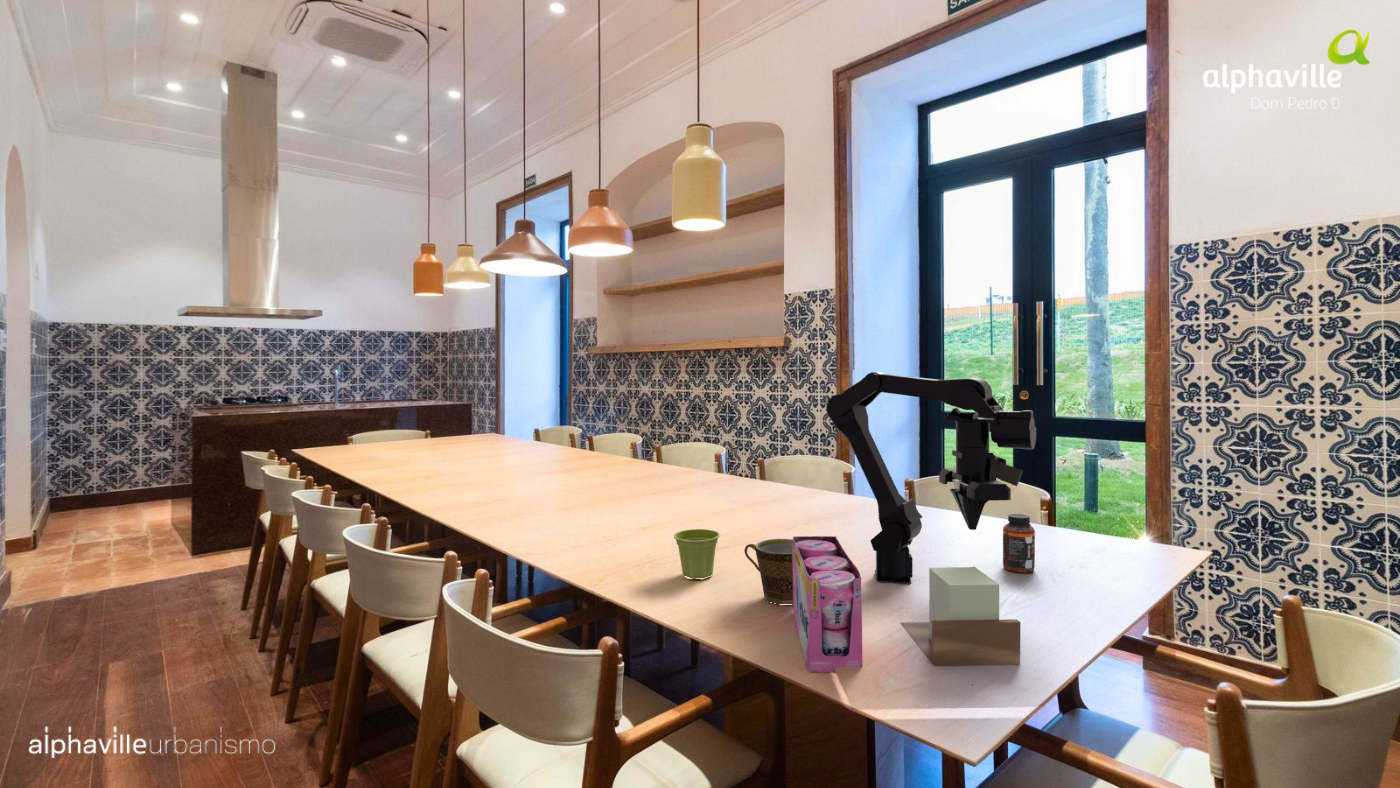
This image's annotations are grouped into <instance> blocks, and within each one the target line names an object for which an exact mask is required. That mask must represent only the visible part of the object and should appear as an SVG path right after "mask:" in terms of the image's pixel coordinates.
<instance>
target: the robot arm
mask: <svg viewBox="0 0 1400 788" xmlns="http://www.w3.org/2000/svg"><path fill="white" fill-rule="evenodd" d="M882 393H885V394H892V395H900V396H908V397H915V398H924V399H929V400H930V399H931V400H935V401H939V402H942V403H943V404H946V405H949V406H952V407H954V408H952V409H951V411H950V413H948V414H947V415H946V416H945V417H944V418H943V419H944V421H946V422H955V449H952V450H951V456H954V457H955V467H950V468H949V467H946V468H945V467H944V468H942V470H940V472H938V479H939V480H938V482H939V483H940V484H942V485H948V483H954V485H953V487H954V488H950V489H949V491H950V493H951V494H952V496H953V498H954V500H955V503H956V504H957V506H958V509H959V511H960V513H961V515H962V518H963V520H964V521H965V524H966V526H967V528H968V529H969V530H970V531H976V530H977V528H978V525H979V523H980V522H979V521H980V518H981V515H982V512H983V511H984V507H985V505H986V503H988V502H989V501H991V502H992V501H1011V500H1012V499H1011V498H1012V497H1011V495H1012V489H1011V487H1009V485H1008V484H1010V485H1012V486H1015V487H1018V485H1019V484H1020V483H1019V482H1020V480H1021V477H1022V474H1023V471H1024V470H1022V469H1020V468H1017V467H1014V466H1011V465H1009V464H1007V459H1005V458H1002V457H1000V456H997V455H995V453H994V452H992V451H990V440H991V442H993V444H994V443H995V444H996V445H997V447H998V448H1003V449H1007V448H1008V449H1023V450H1034V449H1035V445H1036V442H1037V427H1036V425H1035V418H1034V411H1033V410H1032V409H1030V410H1028V409H1027V410H1021V411H1020V410H1019V411H1018V410H1017V411H1016V410H1004V409H1003V408H1002V406H1001V404H999V403H998V401H997V400H996V399H995V397H994V396H993V389H992V387H991V385H990V384H989V383H988V381H987V380H985V379H983V378H980V377H972V378H969V377H968V378H953V379H950V378H949V379H936V378H935V379H934V378H925V377H916V376H909V375H901V374H900V375H899V374H891V373H885V372H884V371H883V372H882V371H877V372H875V371H874V372H873V371H872V372H869V373H867V374H866V375H865V376H864V377H863V378H861V380H859V381H857V382H856V383H855V384H853V385H851V386H850V387H848V388H847V389H846V390H844V391H843V392H842V393H837V394H834V395H833V396H831V397H830V399H829V400H827V401H828V402H827V404H826V409H825V411H826V414H827V416H828V418H829V419H830V421H831V422H832V423H833V425H834V426H835V427H836V429H837V430H838V431H839V432H840V433H841V434H843V436H844V437H846V439H847V441H848V442H849V444H850V447H851V448H852V451H853V453H854V455H855V457H856V459H857V462H858V464H859V466H860V468H861V471H862V472H863V475H864V476H865V479H866V481H867V483H868V486H869V487H870V490H871V492H872V494H873V496H874V498H875V501H876V503H877V511H878V512H877V513H878V521H879V524H880V529H881V530H880V532H878V533H877V534H876V535H875V536H874V537H872V539H870V544H871V547H872V550H873V551H874V552H875V570H874V574H875V579H876V582H878V583H879V582H880V583H895V584H896V583H897V584H898V583H899V584H911V583H912V578H913V565H914V564H913V560H914V558H913V556H912V554H911V553H910V547H909V546H910V545H912V542H913V539H914V538H917V537H918V535H919V534H921V530H922V527H923V526H922V525H923V524H922V520H921V519H922V518H923V515H922V514H920V512H919V511H918V508H917V505H916V502H915V500H914V499H913V498H911V499H909V500H906V499H905V498H904V497H903V496H902V495H901V494H900V493H899V491H898V489H897V487H896V484H895V483H894V480H893V477H892V476H891V473H890V472H889V469H888V468H887V466H886V464H885V461H884V459H883V456H882V455H881V453H880V451H879V449H878V445H877V444H876V442H875V439H874V438H873V435H872V434H871V432H870V428H869V427H870V426H869V425H870V423H869V415H868V410H867V407H868V406H869V405H870V404H872V403H873V402H874V400H875V399H876V398H877V397H878V396H879V395H880V394H882ZM960 409H962V410H965V412H964V411H963V412H962V411H961V410H960ZM966 411H968V412H966ZM969 411H973V412H969ZM979 415H980V417H979ZM988 417H989V418H988ZM991 417H993V418H991ZM999 480H1000V481H999ZM1006 483H1007V484H1006Z"/></svg>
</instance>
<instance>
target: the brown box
mask: <svg viewBox="0 0 1400 788" xmlns="http://www.w3.org/2000/svg"><path fill="white" fill-rule="evenodd" d="M900 625H901V626H902V627H903V628H904V630H905V631H906V632H907V634H908V635H909V636H910V637H911V638H912V640H913V641H914V642H915V643H916V645H917V646H918V647H919V649H920V650H921V651H922V652H923V654H924V656H926V658H927V659H928V660H929V661H930V663H931V664H932V665H933V666H934V667H938V666H940V667H941V666H944V667H945V666H950V667H951V666H952V667H953V666H1002V665H1006V666H1009V665H1011V666H1012V665H1017V666H1018V665H1021V621H1019V619H1016V618H1014V619H999V620H942V621H932V641H931V640H930V639H929V621H917V622H916V621H913V622H910V621H909V622H900Z"/></svg>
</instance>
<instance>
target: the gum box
mask: <svg viewBox="0 0 1400 788" xmlns="http://www.w3.org/2000/svg"><path fill="white" fill-rule="evenodd" d="M792 566H793V605H792V607H793V608H792V611H793V612H792V614H793V613H794V614H793V618H794V617H795V618H794V621H796V622H795V625H797V626H796V628H797V633H798V637H799V641H800V646H801V648H802V653H803V658H804V660H805V665H806V667H807V672H811V673H812V672H815V673H837V671H836V670H835V668H863V605H862V603H863V602H862V600H863V598H862V596H863V595H862V576H861V573H860V571H859V569H858V567H857V566H856V564H854V563H853V561H852V560H851V558H850V557H849V556H848V554H847V552H846V551H845V550H844V548H843V546H842V544H841V543H840V541H839V540H838V538H837V536H835V535H834V536H831V535H830V536H829V535H827V536H826V535H823V536H822V535H820V536H819V535H817V536H815V535H814V536H813V535H812V536H811V535H810V536H807V535H805V536H804V535H803V536H801V535H800V536H799V535H798V536H792Z"/></svg>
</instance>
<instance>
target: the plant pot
mask: <svg viewBox="0 0 1400 788" xmlns="http://www.w3.org/2000/svg"><path fill="white" fill-rule="evenodd" d="M720 536H721V535H720V533H719V532H718V531H716V530H714V529H713V530H712V529H706V528H693V529H692V528H691V529H685V530H680V531H677V532H675V533H674V534H673V538H674V540H675V541H676V545H677V547H678V553H679V559H680V567H681V570H682V571H681V572H682V576H683V575H684V576H687V577H690V578H705V577H708V576H711V575H712V576H713V574H714V566H715V565H714V564H715V555H716V548H717V544H718V539H719V538H720ZM712 576H711V577H712Z"/></svg>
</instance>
